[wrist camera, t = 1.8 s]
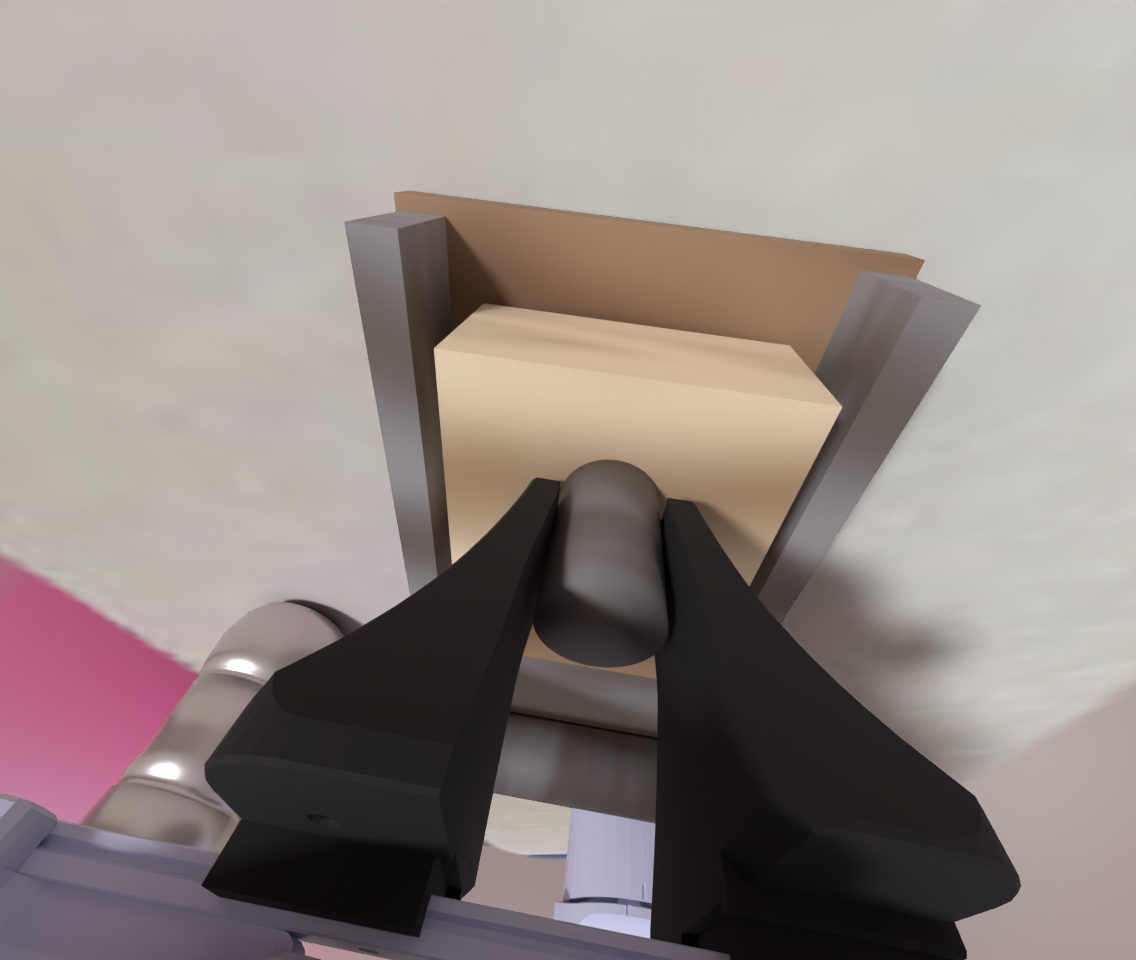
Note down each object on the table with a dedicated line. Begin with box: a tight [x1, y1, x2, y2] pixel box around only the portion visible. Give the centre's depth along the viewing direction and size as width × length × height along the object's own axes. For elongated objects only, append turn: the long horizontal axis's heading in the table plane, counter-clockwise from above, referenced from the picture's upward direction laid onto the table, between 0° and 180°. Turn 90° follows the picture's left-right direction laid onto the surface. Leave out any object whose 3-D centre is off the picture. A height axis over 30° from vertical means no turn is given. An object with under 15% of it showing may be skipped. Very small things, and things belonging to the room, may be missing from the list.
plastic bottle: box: [78, 602, 344, 853], centre depth 19 cm, size 6×7×20 cm
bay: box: [344, 191, 981, 823], centre depth 16 cm, size 23×14×7 cm, turn 174°
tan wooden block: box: [434, 303, 842, 668], centre depth 12 cm, size 7×9×8 cm
